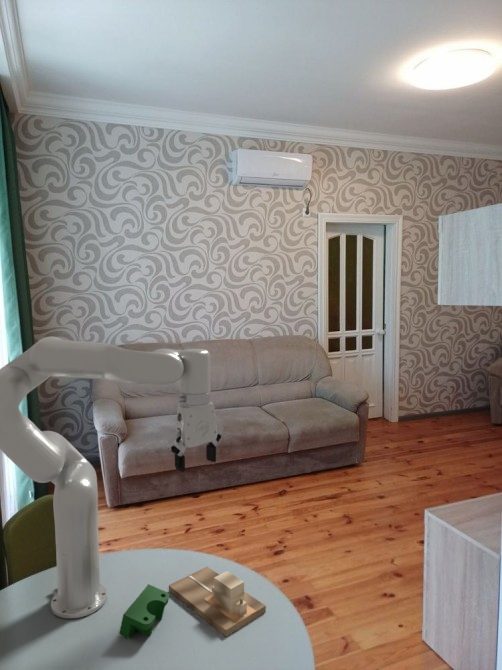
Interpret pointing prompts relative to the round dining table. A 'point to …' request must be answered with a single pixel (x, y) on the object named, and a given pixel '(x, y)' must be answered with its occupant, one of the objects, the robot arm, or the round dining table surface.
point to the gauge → (229, 593)
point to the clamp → (144, 611)
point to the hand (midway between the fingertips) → (196, 465)
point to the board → (200, 600)
